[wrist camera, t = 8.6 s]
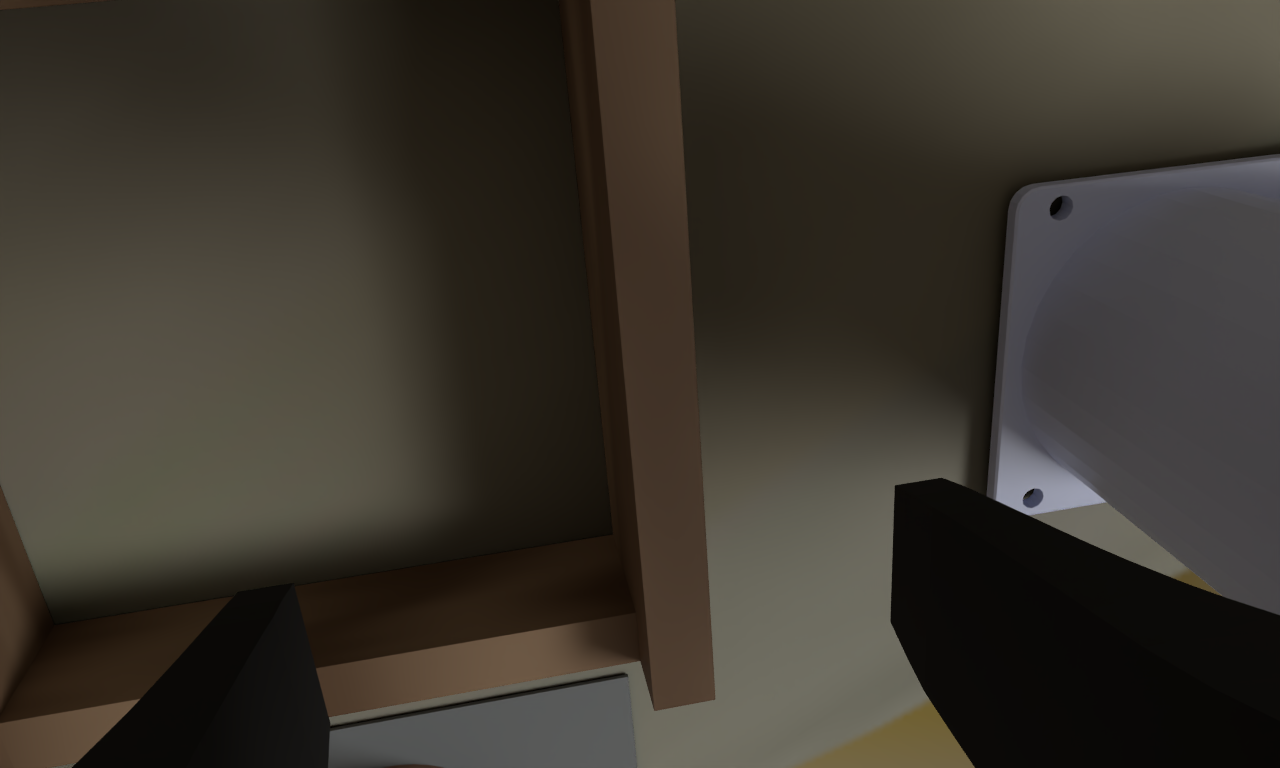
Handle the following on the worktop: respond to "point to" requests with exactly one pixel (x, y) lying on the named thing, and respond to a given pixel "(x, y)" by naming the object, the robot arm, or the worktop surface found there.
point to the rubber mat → (502, 732)
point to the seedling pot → (414, 766)
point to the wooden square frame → (497, 583)
